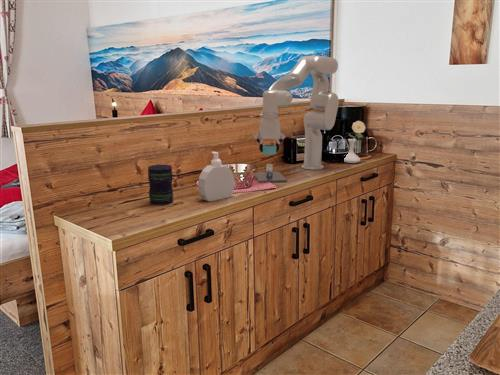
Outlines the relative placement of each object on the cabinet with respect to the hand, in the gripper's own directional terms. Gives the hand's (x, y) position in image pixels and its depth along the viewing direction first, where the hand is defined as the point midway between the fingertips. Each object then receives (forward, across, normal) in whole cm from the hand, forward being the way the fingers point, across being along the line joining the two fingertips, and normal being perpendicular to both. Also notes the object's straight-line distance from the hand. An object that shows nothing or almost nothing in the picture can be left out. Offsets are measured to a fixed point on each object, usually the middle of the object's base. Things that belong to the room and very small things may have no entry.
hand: (269, 151), depth 234 cm
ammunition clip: (+15, -25, -22) cm, 37 cm away
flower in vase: (+12, +58, +34) cm, 68 cm away
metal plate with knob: (+14, +1, 0) cm, 14 cm away
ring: (+1, 0, 0) cm, 1 cm away
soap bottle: (+15, -29, -34) cm, 48 cm away
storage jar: (+15, -52, -38) cm, 66 cm away
